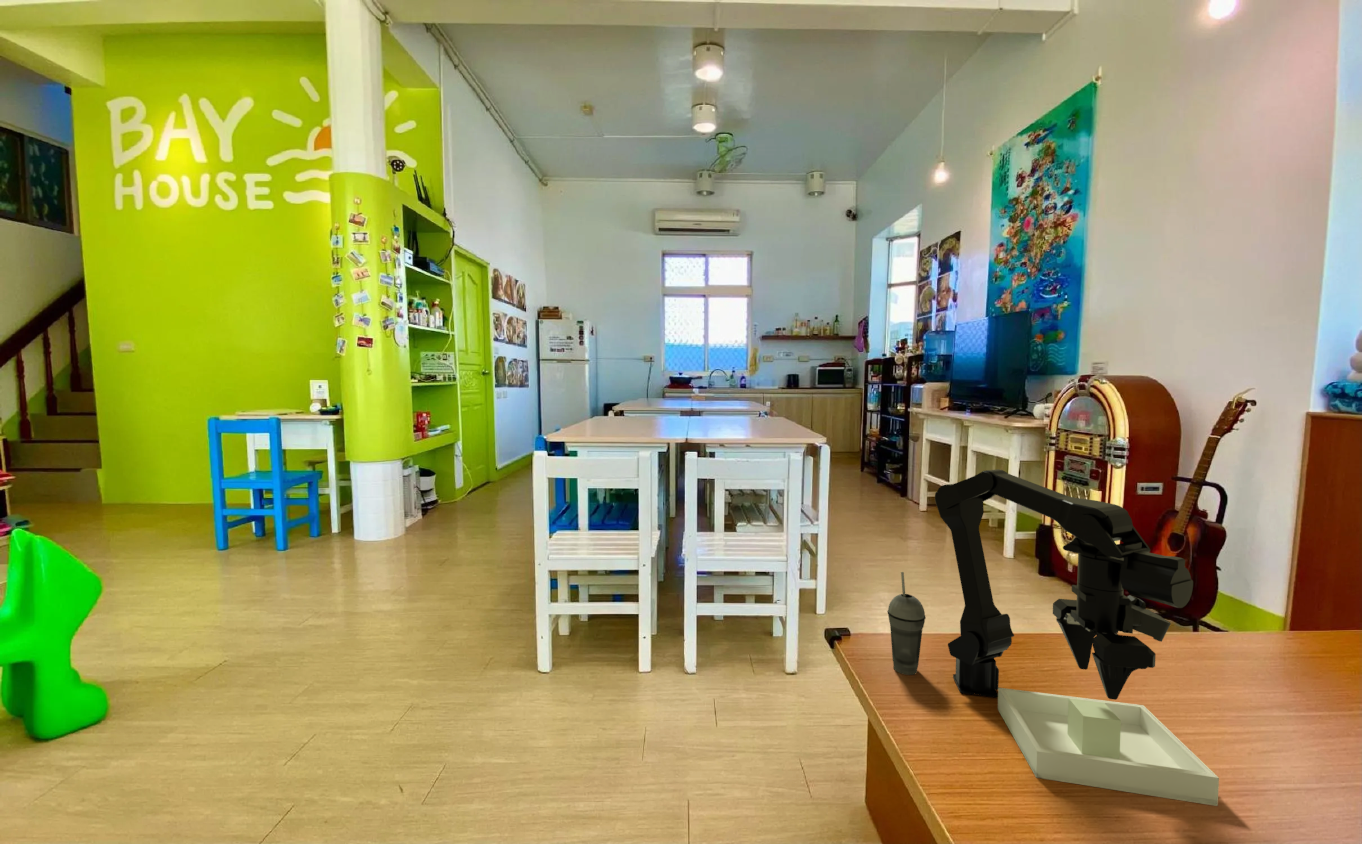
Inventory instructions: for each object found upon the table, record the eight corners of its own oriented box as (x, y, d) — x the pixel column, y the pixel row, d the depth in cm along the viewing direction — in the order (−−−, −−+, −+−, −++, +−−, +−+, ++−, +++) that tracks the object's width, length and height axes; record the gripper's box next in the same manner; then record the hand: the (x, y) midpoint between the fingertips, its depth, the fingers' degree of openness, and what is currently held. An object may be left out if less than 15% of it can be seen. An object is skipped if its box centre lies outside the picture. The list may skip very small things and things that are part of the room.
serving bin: (1036, 777, 80) (1037, 751, 79) (997, 709, 97) (998, 687, 97) (1217, 806, 74) (1219, 778, 74) (1142, 728, 91) (1143, 705, 91)
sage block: (1081, 753, 84) (1083, 716, 83) (1067, 734, 89) (1068, 698, 88) (1119, 758, 83) (1121, 720, 82) (1102, 738, 87) (1104, 702, 87)
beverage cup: (907, 682, 106) (909, 582, 105) (878, 665, 113) (880, 571, 112) (932, 673, 110) (934, 576, 109) (902, 657, 116) (904, 566, 115)
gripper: (1203, 613, 73) (1198, 725, 74) (1127, 570, 91) (1124, 661, 92) (1107, 605, 76) (1104, 713, 77) (1052, 565, 94) (1050, 653, 95)
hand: (1096, 683), depth 85 cm, fingers open, 9 cm apart
